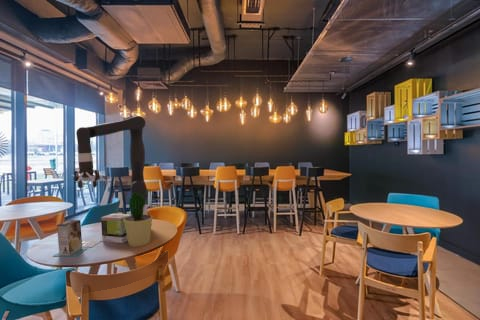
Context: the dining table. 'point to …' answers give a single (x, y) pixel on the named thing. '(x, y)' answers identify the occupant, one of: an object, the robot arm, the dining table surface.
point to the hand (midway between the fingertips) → (87, 187)
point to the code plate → (89, 243)
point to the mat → (71, 254)
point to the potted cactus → (138, 222)
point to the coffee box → (69, 237)
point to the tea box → (114, 228)
